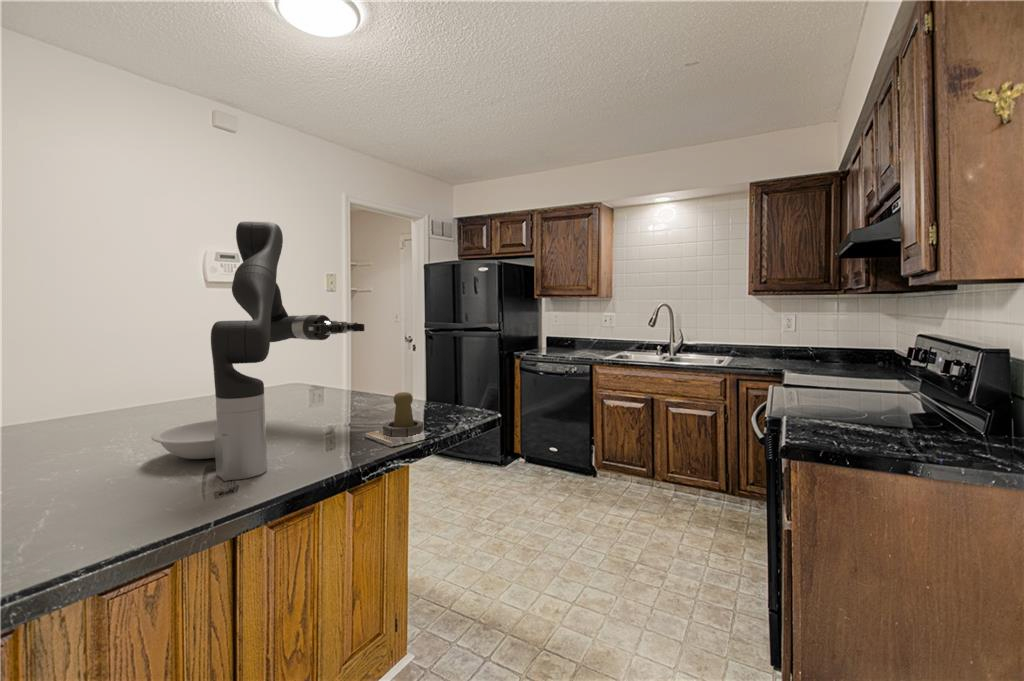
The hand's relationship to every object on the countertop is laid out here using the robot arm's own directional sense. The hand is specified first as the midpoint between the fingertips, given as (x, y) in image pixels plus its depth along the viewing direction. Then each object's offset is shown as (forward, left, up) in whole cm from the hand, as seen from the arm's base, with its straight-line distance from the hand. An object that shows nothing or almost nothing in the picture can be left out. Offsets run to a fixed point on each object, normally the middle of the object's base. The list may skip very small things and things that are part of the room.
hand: (353, 328), depth 141 cm
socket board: (+6, -15, -30) cm, 34 cm away
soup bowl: (-36, +4, -30) cm, 47 cm away
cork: (+7, -15, -29) cm, 33 cm away
